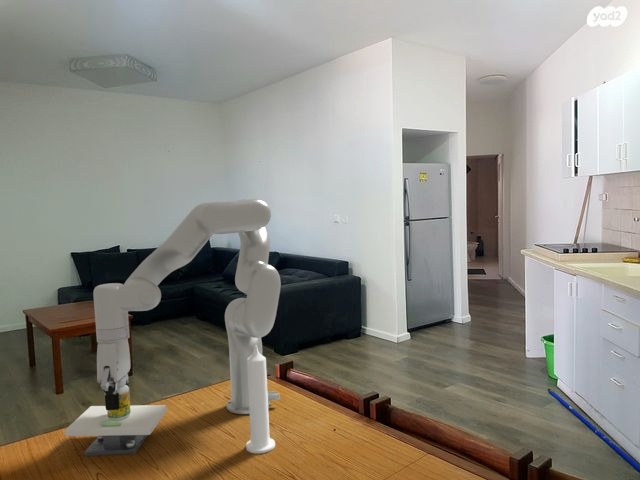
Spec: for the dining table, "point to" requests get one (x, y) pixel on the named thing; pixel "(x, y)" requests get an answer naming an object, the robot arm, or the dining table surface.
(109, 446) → the tribrach base
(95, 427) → the level board
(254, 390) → the candle
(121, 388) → the supplement bottle
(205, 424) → the dining table surface
